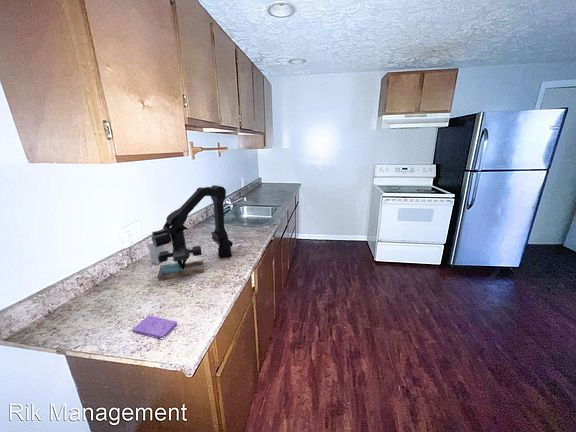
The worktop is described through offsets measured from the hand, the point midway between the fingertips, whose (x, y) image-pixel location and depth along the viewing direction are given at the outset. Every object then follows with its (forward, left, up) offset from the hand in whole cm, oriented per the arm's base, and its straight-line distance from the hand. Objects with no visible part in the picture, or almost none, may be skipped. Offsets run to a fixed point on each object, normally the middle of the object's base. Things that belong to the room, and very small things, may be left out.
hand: (183, 269), depth 115 cm
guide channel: (+1, 0, -1) cm, 1 cm away
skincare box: (+13, -16, -2) cm, 20 cm away
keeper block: (+5, 0, -1) cm, 5 cm away
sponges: (+8, +37, -2) cm, 38 cm away
